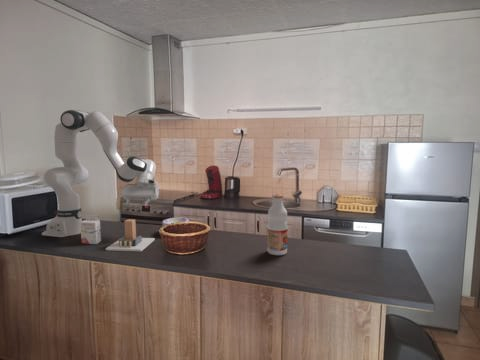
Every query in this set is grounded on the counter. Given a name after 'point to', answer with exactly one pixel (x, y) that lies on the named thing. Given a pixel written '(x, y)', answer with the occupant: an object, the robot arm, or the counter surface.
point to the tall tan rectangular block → (130, 229)
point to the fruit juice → (277, 227)
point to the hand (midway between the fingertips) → (136, 204)
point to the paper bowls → (174, 221)
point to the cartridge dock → (130, 244)
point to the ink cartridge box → (90, 230)
